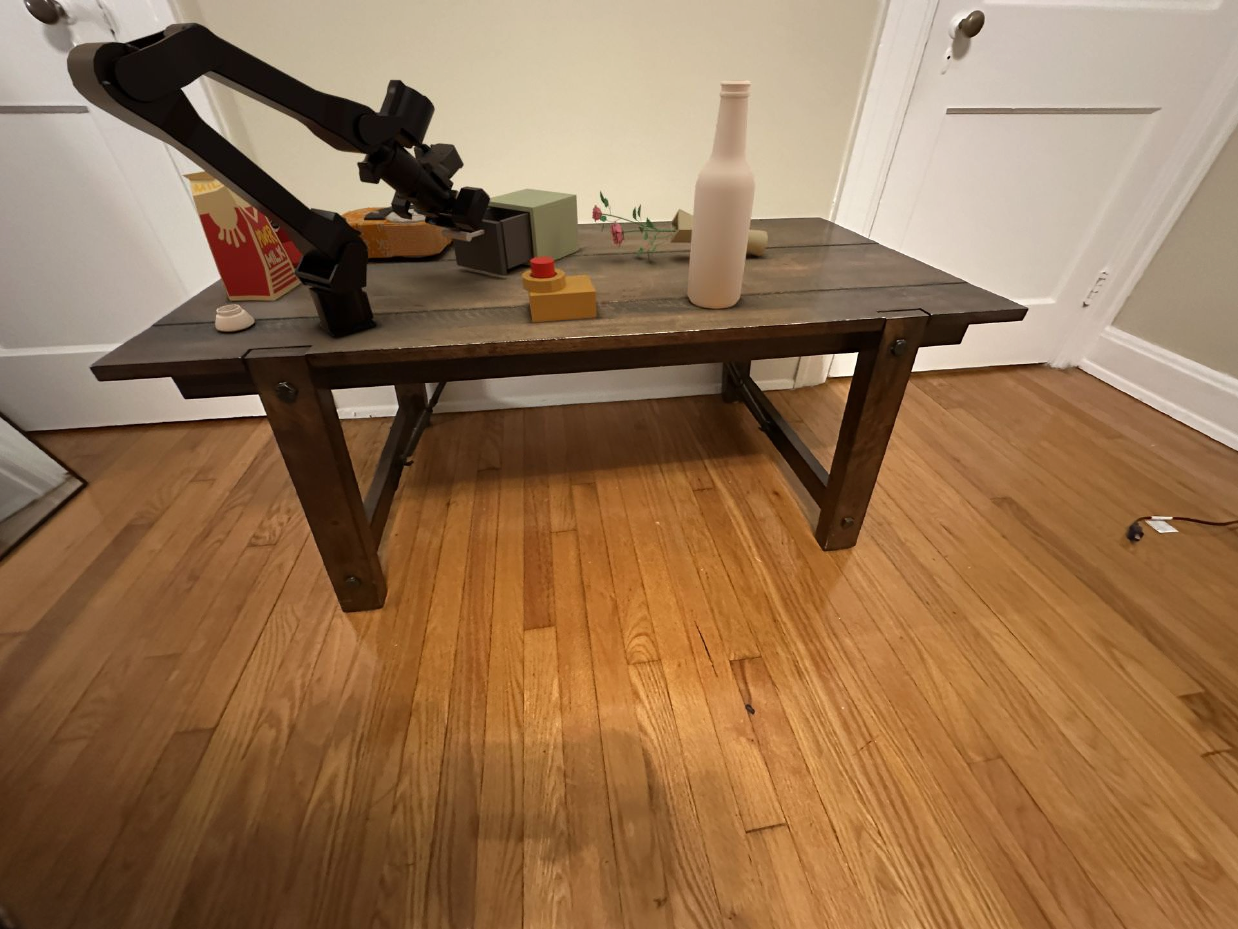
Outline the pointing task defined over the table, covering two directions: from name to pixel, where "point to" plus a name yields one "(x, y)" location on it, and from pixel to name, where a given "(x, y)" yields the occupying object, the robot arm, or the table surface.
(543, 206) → the drawer cabinet
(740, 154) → the alcohol
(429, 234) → the device
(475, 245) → the dark grey drawer
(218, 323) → the lidless jar
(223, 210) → the milk carton
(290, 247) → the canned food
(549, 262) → the button
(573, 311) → the control block
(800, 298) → the table surface
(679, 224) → the flower vase
